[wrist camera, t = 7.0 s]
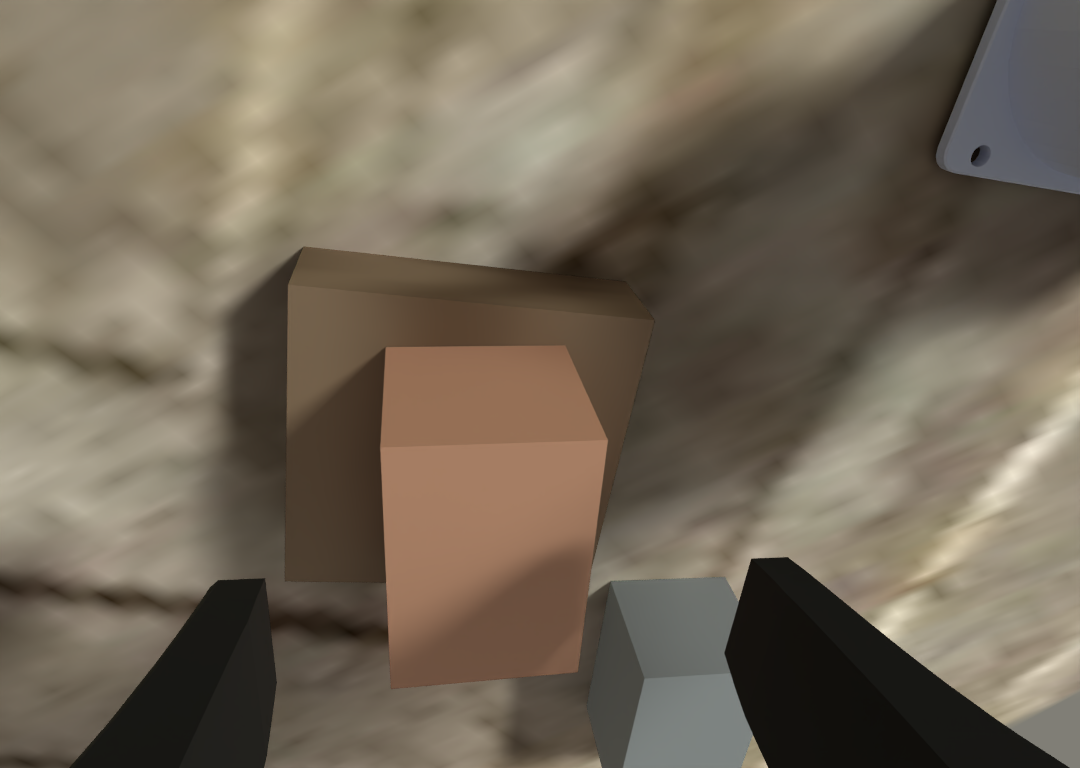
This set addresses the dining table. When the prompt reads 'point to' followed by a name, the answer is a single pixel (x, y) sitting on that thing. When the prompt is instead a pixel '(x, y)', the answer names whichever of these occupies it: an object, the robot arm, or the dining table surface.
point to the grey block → (667, 677)
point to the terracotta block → (487, 511)
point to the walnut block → (422, 321)
